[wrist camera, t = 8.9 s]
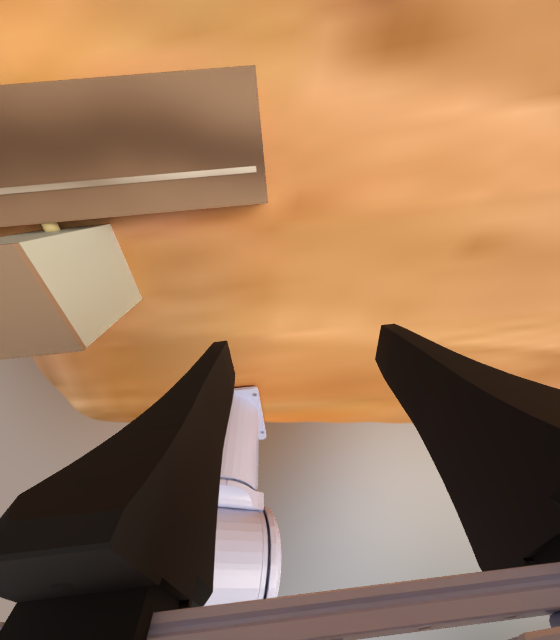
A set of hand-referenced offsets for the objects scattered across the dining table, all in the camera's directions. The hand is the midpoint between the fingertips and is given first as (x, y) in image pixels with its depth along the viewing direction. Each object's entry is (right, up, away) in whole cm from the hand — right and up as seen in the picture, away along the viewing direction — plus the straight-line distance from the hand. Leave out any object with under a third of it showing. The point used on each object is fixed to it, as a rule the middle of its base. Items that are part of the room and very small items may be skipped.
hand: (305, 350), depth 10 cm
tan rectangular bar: (-12, +12, +4) cm, 17 cm away
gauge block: (-16, +6, +7) cm, 18 cm away
